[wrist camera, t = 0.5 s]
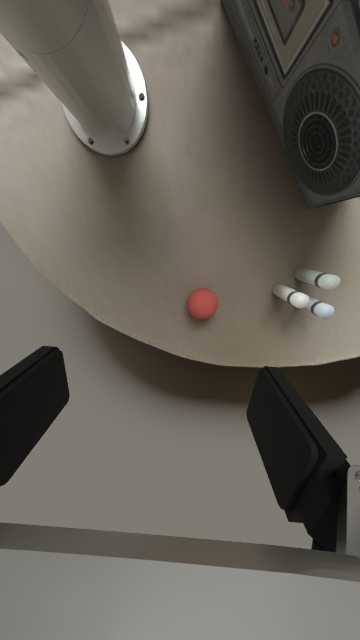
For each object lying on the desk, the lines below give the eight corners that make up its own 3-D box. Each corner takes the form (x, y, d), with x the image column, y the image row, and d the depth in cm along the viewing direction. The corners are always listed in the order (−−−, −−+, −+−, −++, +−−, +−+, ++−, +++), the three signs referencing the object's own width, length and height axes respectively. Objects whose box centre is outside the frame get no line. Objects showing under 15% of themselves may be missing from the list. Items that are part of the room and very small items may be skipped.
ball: (181, 294, 39) (181, 303, 34) (207, 280, 38) (211, 287, 32) (195, 317, 41) (197, 329, 36) (219, 304, 40) (225, 314, 34)
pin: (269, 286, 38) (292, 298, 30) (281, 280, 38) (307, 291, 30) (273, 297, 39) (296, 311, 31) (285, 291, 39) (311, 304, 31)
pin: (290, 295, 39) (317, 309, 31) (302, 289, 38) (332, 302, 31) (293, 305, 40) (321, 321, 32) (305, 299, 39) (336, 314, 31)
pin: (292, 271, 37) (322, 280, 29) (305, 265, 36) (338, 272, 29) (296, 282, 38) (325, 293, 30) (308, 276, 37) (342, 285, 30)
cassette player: (220, 1, 24) (348, -798, 5) (270, -56, 22) (697, -1495, 4) (308, 209, 33) (467, 170, 15) (348, 180, 31) (586, 94, 13)
